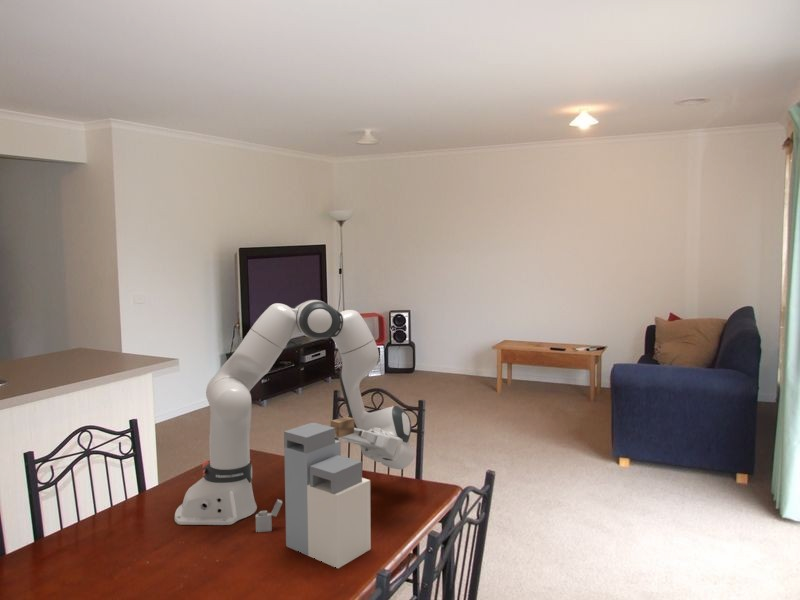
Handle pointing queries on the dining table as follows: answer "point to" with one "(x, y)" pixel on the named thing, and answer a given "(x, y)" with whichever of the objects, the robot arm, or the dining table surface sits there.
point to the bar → (343, 426)
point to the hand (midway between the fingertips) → (347, 430)
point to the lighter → (267, 518)
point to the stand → (324, 497)
